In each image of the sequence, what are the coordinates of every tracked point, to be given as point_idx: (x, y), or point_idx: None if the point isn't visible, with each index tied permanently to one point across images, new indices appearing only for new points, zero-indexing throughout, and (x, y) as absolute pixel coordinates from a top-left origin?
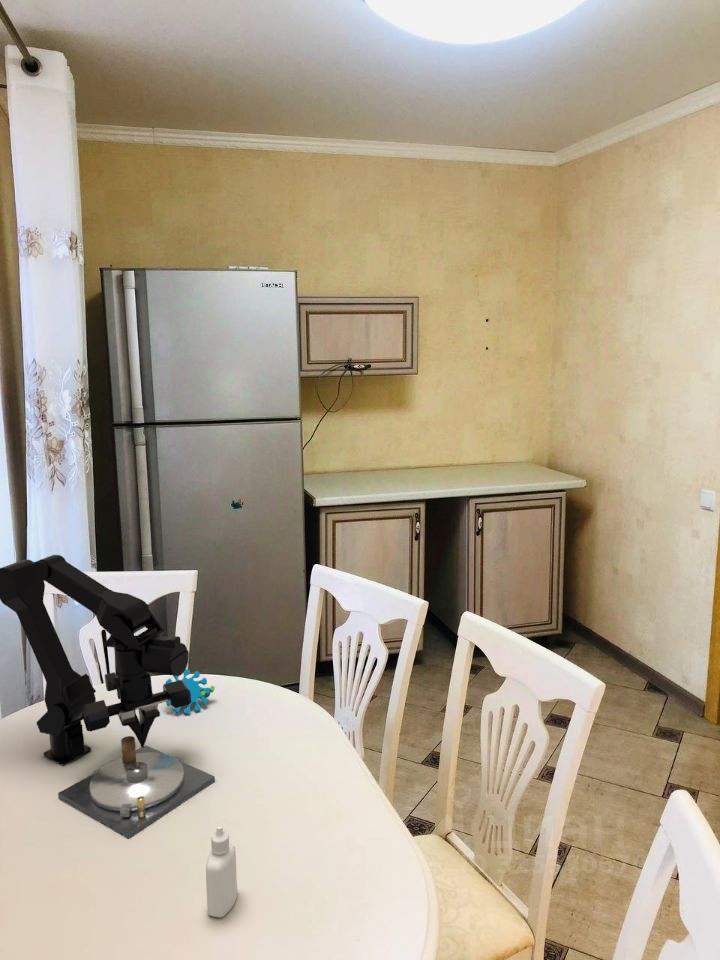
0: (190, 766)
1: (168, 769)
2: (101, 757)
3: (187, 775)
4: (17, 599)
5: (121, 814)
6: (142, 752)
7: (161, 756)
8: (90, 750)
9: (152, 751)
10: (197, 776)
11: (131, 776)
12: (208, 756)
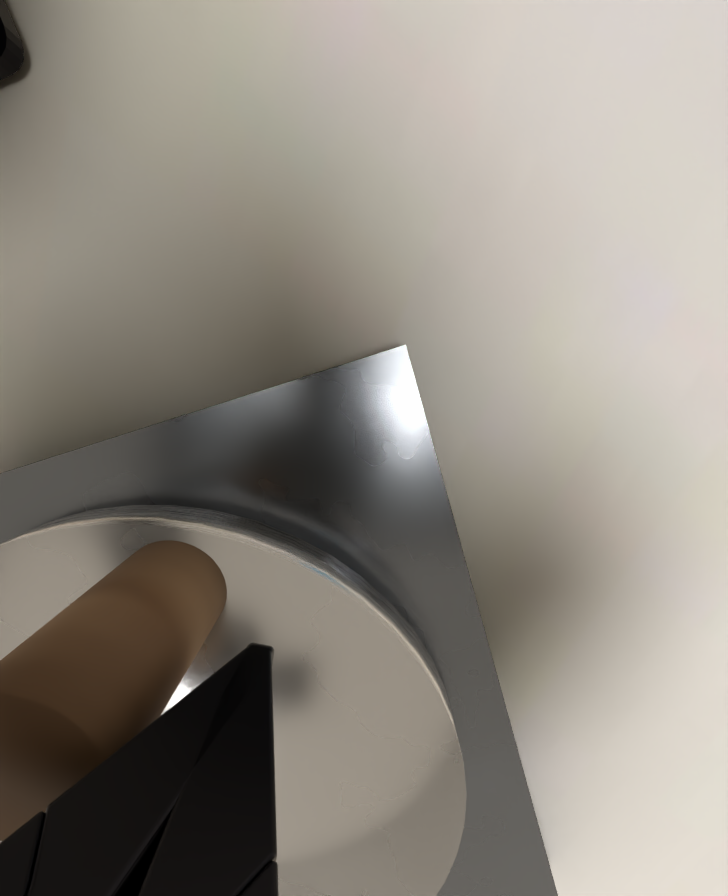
0: (514, 766)
1: (363, 842)
2: (90, 232)
3: None
4: None
5: None
6: (341, 438)
7: (394, 694)
8: (10, 67)
9: (406, 474)
10: (491, 859)
11: None
12: (666, 670)
